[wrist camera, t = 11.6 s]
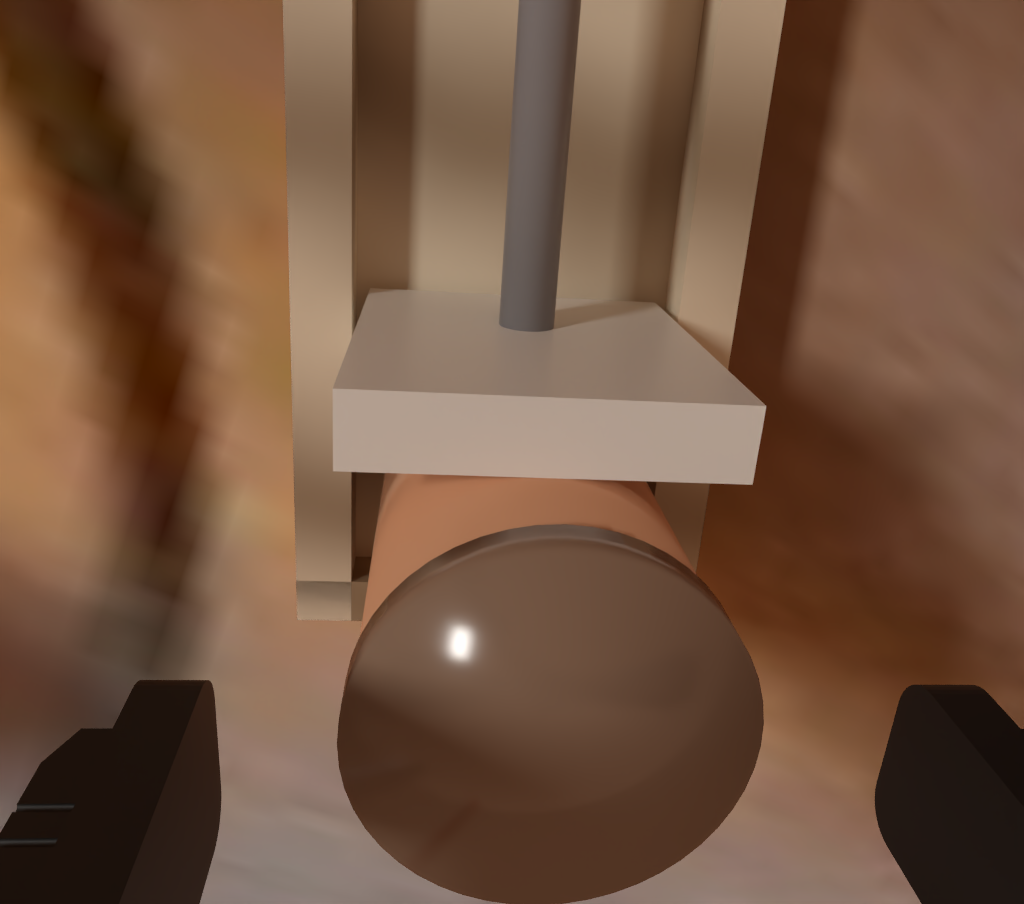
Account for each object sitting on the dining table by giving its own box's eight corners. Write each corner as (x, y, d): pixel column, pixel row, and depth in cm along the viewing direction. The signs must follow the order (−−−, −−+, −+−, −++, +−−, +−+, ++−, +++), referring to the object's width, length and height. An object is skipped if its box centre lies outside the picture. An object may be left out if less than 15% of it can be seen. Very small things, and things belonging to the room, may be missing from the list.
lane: (290, -641, 14) (48, -1833, 6) (830, -564, 15) (1373, -1489, 6) (310, 572, 22) (224, 881, 13) (665, 579, 23) (805, 876, 14)
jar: (386, 336, 19) (337, 548, 10) (633, 348, 20) (799, 560, 11) (381, 560, 21) (336, 907, 12) (606, 566, 22) (727, 902, 13)
